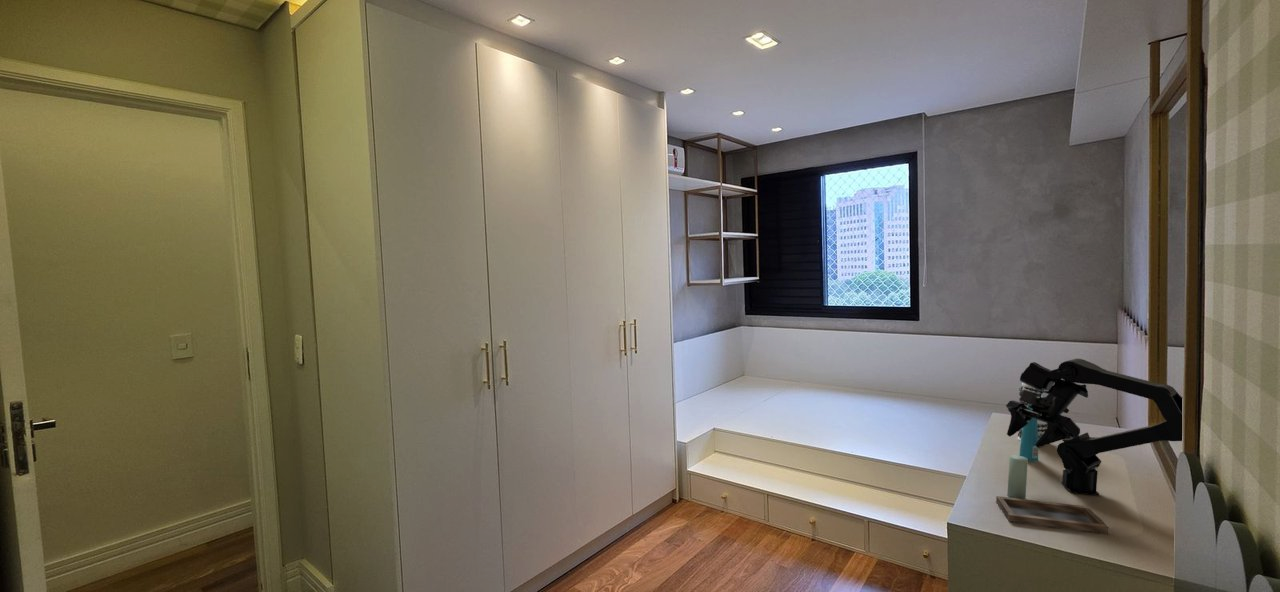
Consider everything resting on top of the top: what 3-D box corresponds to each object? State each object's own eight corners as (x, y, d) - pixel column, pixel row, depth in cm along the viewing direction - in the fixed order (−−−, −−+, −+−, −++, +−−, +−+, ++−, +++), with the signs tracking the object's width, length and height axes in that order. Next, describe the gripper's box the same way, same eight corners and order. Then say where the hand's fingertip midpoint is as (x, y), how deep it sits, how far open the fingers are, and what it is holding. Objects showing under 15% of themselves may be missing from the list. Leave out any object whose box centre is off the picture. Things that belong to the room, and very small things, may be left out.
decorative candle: (1056, 446, 181) (1061, 372, 178) (1028, 446, 181) (1032, 373, 178) (1036, 436, 190) (1041, 366, 187) (1010, 436, 190) (1014, 366, 187)
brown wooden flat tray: (1087, 513, 137) (1087, 506, 137) (1108, 534, 127) (1108, 527, 127) (996, 502, 143) (996, 495, 143) (1009, 522, 133) (1009, 515, 133)
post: (1022, 495, 147) (1024, 455, 146) (1027, 501, 143) (1030, 461, 142) (1005, 493, 148) (1007, 454, 147) (1010, 499, 144) (1012, 460, 143)
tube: (1020, 453, 175) (1023, 395, 173) (1039, 457, 172) (1042, 398, 170) (1017, 461, 169) (1021, 401, 167) (1037, 465, 166) (1040, 404, 164)
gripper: (1012, 373, 159) (978, 412, 158) (1072, 388, 141) (1034, 433, 140) (1034, 397, 161) (1001, 436, 160) (1097, 415, 142) (1059, 460, 142)
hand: (1022, 440), depth 150 cm, fingers open, 9 cm apart
